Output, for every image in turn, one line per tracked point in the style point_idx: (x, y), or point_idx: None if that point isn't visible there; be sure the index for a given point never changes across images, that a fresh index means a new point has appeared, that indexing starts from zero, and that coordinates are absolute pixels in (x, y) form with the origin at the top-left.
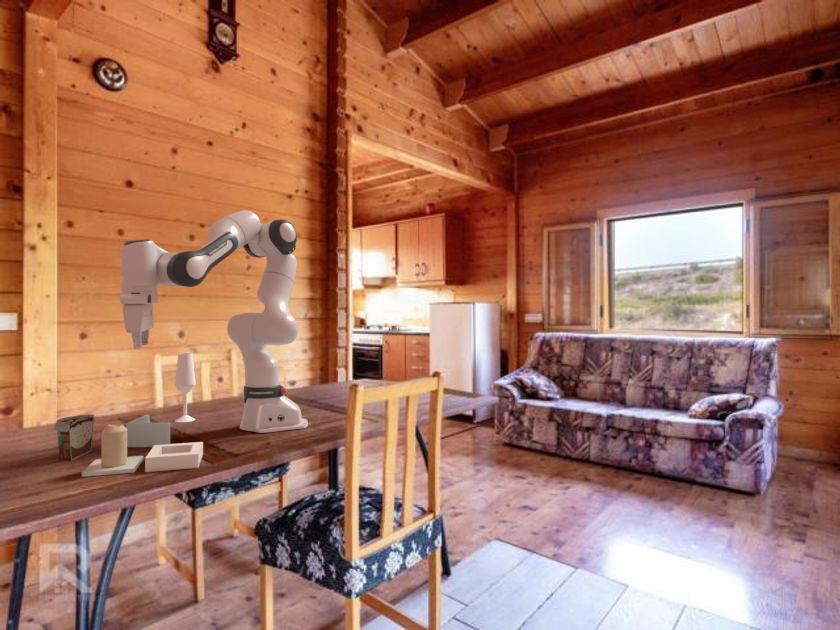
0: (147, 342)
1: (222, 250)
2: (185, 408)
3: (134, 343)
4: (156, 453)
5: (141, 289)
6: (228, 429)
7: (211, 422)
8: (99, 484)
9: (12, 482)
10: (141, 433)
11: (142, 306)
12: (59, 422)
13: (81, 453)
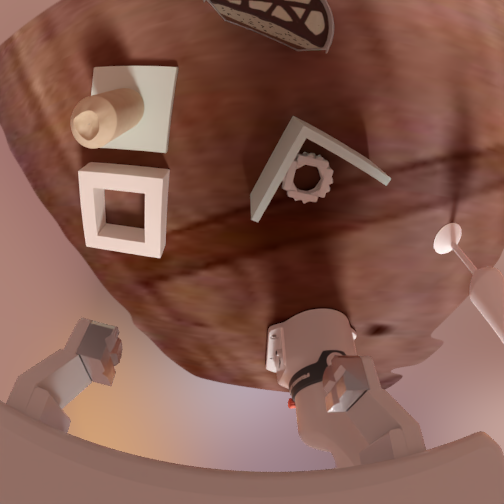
0: (328, 390)
1: None
2: (457, 253)
3: (69, 346)
4: (100, 186)
5: None
6: (330, 293)
7: (402, 274)
8: (54, 107)
9: None
10: (280, 152)
11: None
12: None
13: (261, 33)
